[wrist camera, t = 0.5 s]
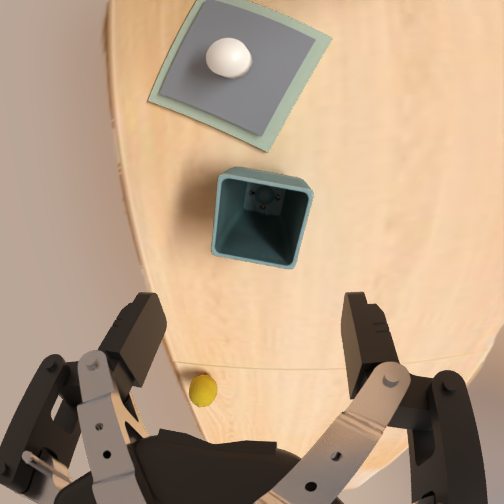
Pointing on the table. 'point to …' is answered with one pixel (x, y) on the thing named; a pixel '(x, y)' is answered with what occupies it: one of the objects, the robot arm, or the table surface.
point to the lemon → (203, 390)
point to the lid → (236, 65)
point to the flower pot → (260, 217)
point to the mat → (288, 98)
